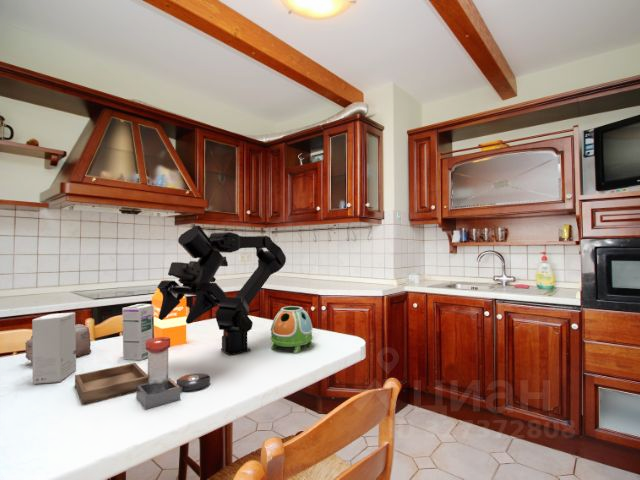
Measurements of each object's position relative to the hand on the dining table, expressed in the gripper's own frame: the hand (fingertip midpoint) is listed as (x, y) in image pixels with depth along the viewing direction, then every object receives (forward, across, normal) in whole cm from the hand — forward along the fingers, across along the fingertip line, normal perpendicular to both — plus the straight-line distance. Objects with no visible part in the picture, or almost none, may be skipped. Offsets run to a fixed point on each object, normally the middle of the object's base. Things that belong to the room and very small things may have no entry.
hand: (173, 321), depth 84 cm
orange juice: (-3, -25, +24) cm, 34 cm away
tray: (+17, -7, +1) cm, 18 cm away
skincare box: (+18, -25, -1) cm, 31 cm away
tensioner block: (+14, +8, +4) cm, 16 cm away
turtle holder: (-13, +13, +34) cm, 39 cm away
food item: (+13, -39, +5) cm, 42 cm away
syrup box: (+6, -21, +13) cm, 25 cm away
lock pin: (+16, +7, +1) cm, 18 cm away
